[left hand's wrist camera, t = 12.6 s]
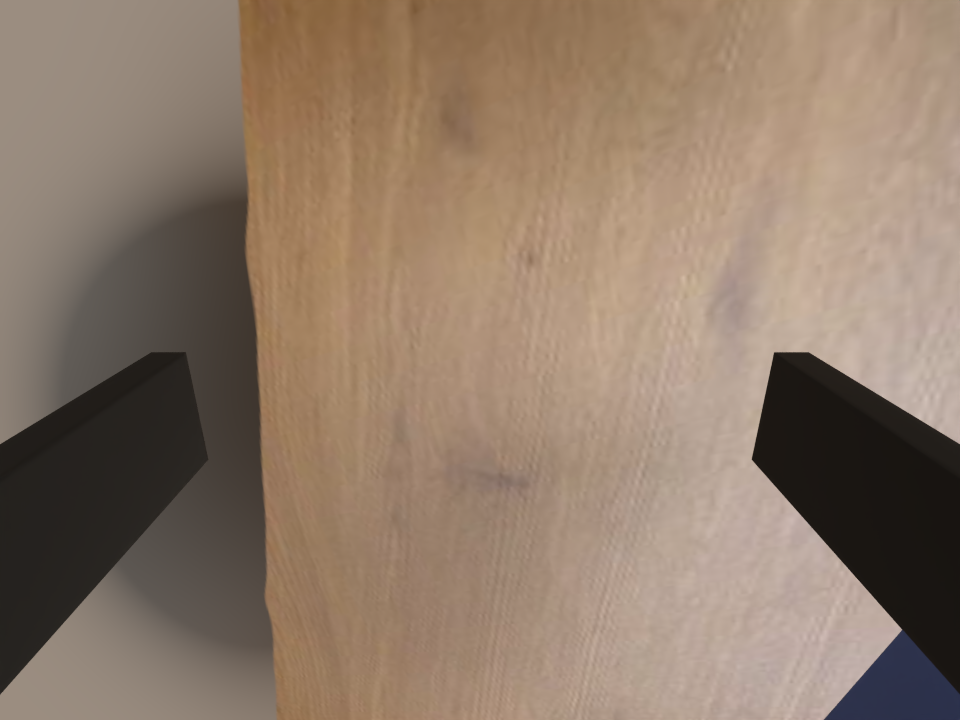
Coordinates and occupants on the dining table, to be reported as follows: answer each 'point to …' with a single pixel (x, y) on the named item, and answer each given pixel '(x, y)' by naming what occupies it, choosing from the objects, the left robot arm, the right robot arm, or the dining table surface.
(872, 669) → the bar
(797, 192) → the dining table surface
